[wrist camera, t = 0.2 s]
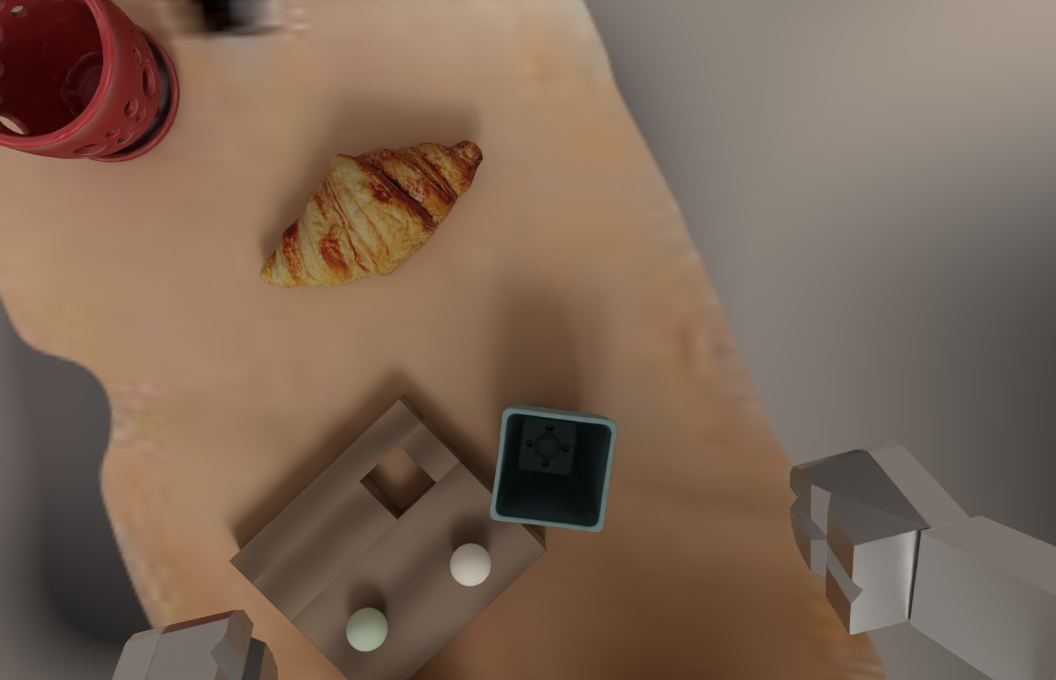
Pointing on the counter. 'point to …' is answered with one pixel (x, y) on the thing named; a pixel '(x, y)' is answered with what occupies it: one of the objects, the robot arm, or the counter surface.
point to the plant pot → (82, 81)
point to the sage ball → (367, 629)
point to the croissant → (371, 214)
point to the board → (386, 551)
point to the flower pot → (553, 468)
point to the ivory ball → (470, 564)
